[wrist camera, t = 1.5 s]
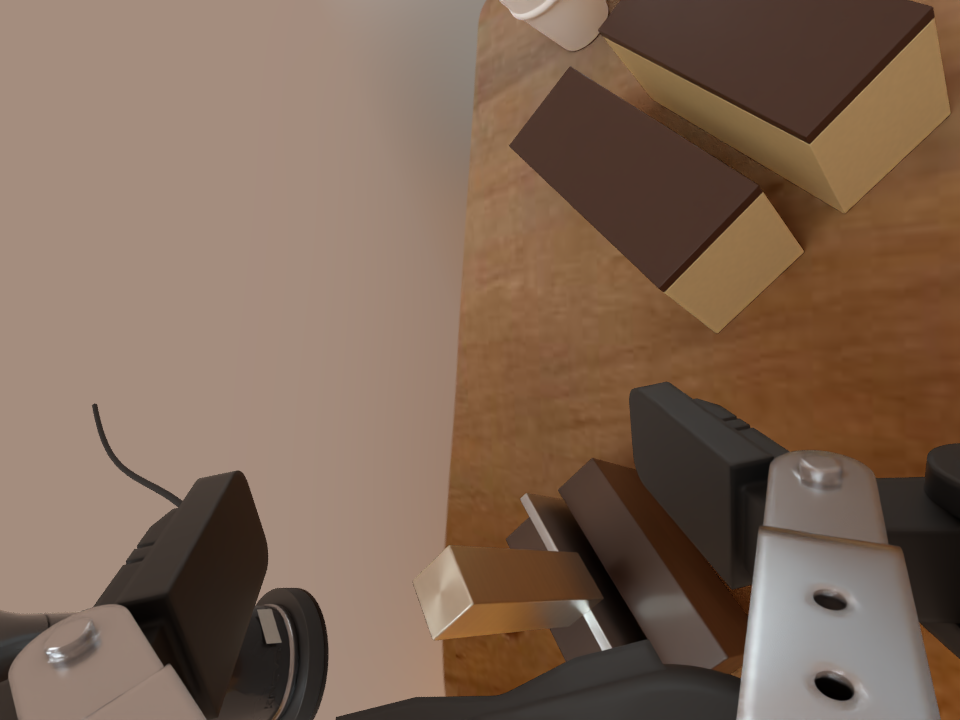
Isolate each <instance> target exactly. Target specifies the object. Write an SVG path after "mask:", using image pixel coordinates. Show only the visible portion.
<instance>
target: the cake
mask: <svg viewBox="0 0 960 720" xmlns="http://www.w3.org/2000/svg"><path fill="white" fill-rule="evenodd" d="M934 17H935V16H934V11H933V7H932V6H928V5H925V4H921V3H917V2H913V1H910V0H620V2H619V3H618V4H617V5H616V7H615V8H614V9H613V11H612V12H611V13H610V15H609V16H608V17H607V19H606V20H605V21H604V22H603V24H602V25H601V26H600V28H599V29H598V31H599V32H600V34H601V35H602V36H603V37H604V39H605V40H606V41H607V43H608V44H609V45H610V46H611V48H612V49H613V50H614V51H615V53H616V54H617V55H618V57H619V58H620V59H621V60H622V62H623V63H624V64H625V65H626V67H627V68H628V69H629V71H630V72H631V73H632V74H633V76H634V77H635V78H636V79H637V81H638V82H639V83H640V85H641V86H642V87H643V88H644V90H645V91H646V92H647V93H648V95H649V96H650V97H651V99H652V100H654V101H656V102H657V103H659V104H661V105H662V106H664V107H666V108H667V109H669V110H671V111H672V112H674V113H676V114H678V115H679V116H681V117H683V118H684V119H686V120H688V121H689V122H691V123H693V124H694V125H696V126H698V127H699V128H701V129H703V130H704V131H706V132H708V133H709V134H711V135H713V136H714V137H716V138H718V139H719V140H721V141H723V142H725V143H726V144H728V145H730V146H731V147H733V148H735V149H736V150H738V151H740V152H741V153H743V154H745V155H746V156H748V157H750V158H751V159H753V160H755V161H756V162H758V163H760V164H761V165H763V166H765V167H767V168H768V169H770V170H772V171H773V172H775V173H777V174H778V175H780V176H782V177H783V178H785V179H787V180H788V181H790V182H792V183H793V184H795V185H797V186H798V187H800V188H802V189H803V190H805V191H807V192H809V193H810V194H812V195H814V196H815V197H817V198H819V199H820V200H822V201H824V202H825V203H827V204H829V205H830V206H832V207H834V208H835V209H837V210H839V211H840V212H842V213H844V214H845V213H846V212H847V211H848V210H849V209H850V208H851V207H852V206H854V205H855V204H856V203H857V202H858V201H859V200H860V199H861V198H862V197H863V196H864V195H865V194H866V193H867V192H868V191H869V190H871V189H872V188H873V187H874V186H875V185H876V184H877V183H878V182H879V181H880V180H881V179H882V178H883V177H884V176H885V175H886V174H887V173H889V172H890V171H891V170H892V169H893V168H894V167H895V166H896V165H897V164H898V163H899V162H900V161H901V160H902V159H903V158H904V157H906V156H907V155H908V154H909V153H910V152H911V151H912V150H913V149H914V148H915V147H916V146H917V145H918V144H919V143H920V142H921V141H922V140H924V139H925V138H926V137H927V136H928V135H929V134H930V133H931V132H932V131H933V130H934V129H935V128H936V127H937V126H938V125H939V124H941V123H942V122H943V121H944V120H945V119H946V118H947V117H948V116H949V115H950V114H951V112H950V106H949V100H948V94H947V88H946V82H945V76H944V70H943V64H942V58H941V52H940V46H939V41H938V35H937V29H936V23H935V18H934ZM509 147H511V148H512V149H513V150H514V151H515V152H516V153H517V154H518V155H519V156H520V157H521V158H522V159H523V160H524V161H525V162H526V163H527V164H528V165H529V166H531V167H532V168H533V169H534V170H535V171H536V172H537V173H538V174H539V175H540V176H541V177H542V178H543V179H544V180H545V181H546V182H547V183H548V184H549V185H550V186H552V187H553V188H554V189H555V190H556V191H557V192H558V193H559V194H560V195H561V196H562V197H563V198H564V199H565V200H566V201H567V202H568V203H569V204H570V205H571V206H573V207H574V208H575V209H576V210H577V211H578V212H579V213H580V214H581V215H582V216H583V217H584V218H585V219H586V220H587V221H588V222H589V223H590V224H591V225H593V226H594V227H595V228H596V229H597V230H598V231H599V232H600V233H601V234H602V235H603V236H604V237H605V238H606V239H607V240H608V241H609V242H610V243H611V244H612V245H614V246H615V247H616V248H617V249H618V250H619V251H620V252H621V253H622V254H623V255H624V256H625V257H626V258H627V259H628V260H629V261H630V262H631V263H632V264H633V265H635V266H636V267H637V268H638V269H639V270H640V271H641V272H642V273H643V274H644V275H645V276H646V277H647V278H648V279H649V280H650V281H651V282H652V283H653V284H655V285H656V286H657V287H658V288H659V289H660V290H661V291H663V292H664V293H665V294H666V295H668V296H669V297H670V298H672V299H673V300H674V301H675V302H677V303H678V304H679V305H681V306H682V307H683V308H684V309H686V310H687V311H688V312H689V313H691V314H692V315H693V316H695V317H696V318H697V319H698V320H700V321H701V322H702V323H703V324H705V325H706V326H707V327H709V328H710V329H711V330H712V331H714V332H715V333H716V334H718V333H719V332H720V331H721V330H722V329H723V328H724V327H725V326H726V325H727V324H728V323H729V322H730V321H732V320H733V319H734V318H735V317H736V316H737V315H738V314H739V313H740V312H741V311H742V310H743V309H744V308H745V307H746V306H747V305H748V304H750V303H751V302H752V301H753V300H754V299H755V298H756V297H757V296H758V295H759V294H760V293H761V292H762V291H763V290H764V289H765V288H767V287H768V286H769V285H770V284H771V283H772V282H773V281H774V280H775V279H776V278H777V277H778V276H779V275H780V274H781V273H782V272H783V271H785V270H786V269H787V268H788V267H789V266H790V265H791V264H792V263H793V262H794V261H795V260H796V259H797V258H798V257H799V256H800V255H802V254H803V253H804V251H803V249H802V248H801V246H800V245H799V243H798V242H797V240H796V239H795V238H794V236H793V235H792V233H791V232H790V230H789V229H788V227H787V226H786V224H785V223H784V222H783V220H782V219H781V217H780V216H779V214H778V213H777V211H776V210H775V208H774V207H773V206H772V204H771V203H770V201H769V200H768V198H767V197H766V195H765V194H764V192H763V191H762V189H761V188H760V187H759V185H757V184H756V183H754V182H753V181H751V180H749V179H748V178H746V177H745V176H743V175H742V174H740V173H738V172H737V171H735V170H734V169H732V168H730V167H729V166H727V165H726V164H724V163H723V162H721V161H719V160H718V159H716V158H715V157H713V156H711V155H710V154H708V153H707V152H705V151H704V150H702V149H700V148H699V147H697V146H696V145H694V144H692V143H691V142H689V141H688V140H686V139H685V138H683V137H681V136H680V135H678V134H677V133H675V132H673V131H672V130H670V129H669V128H667V127H666V126H664V125H662V124H661V123H659V122H658V121H656V120H654V119H653V118H651V117H650V116H648V115H647V114H645V113H643V112H642V111H640V110H639V109H637V108H635V107H634V106H632V105H631V104H629V103H628V102H626V101H624V100H623V99H621V98H620V97H618V96H616V95H615V94H613V93H612V92H610V91H609V90H607V89H605V88H604V87H602V86H601V85H599V84H597V83H596V82H594V81H593V80H591V79H590V78H588V77H586V76H585V75H583V74H582V73H580V72H578V71H577V70H575V69H574V68H572V67H569V68H568V69H567V71H566V72H565V73H564V75H563V76H562V77H561V79H560V80H559V81H558V82H557V84H556V85H555V86H554V88H553V89H552V90H551V92H550V93H549V94H548V96H547V97H546V98H545V99H544V101H543V102H542V103H541V105H540V106H539V107H538V109H537V110H536V111H535V113H534V114H533V115H532V116H531V118H530V119H529V120H528V122H527V123H526V124H525V126H524V127H523V128H522V129H521V131H520V132H519V133H518V135H517V136H516V137H515V139H514V140H513V141H512V143H511V144H510V145H509Z"/></svg>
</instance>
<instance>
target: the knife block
mask: <svg viewBox="0 0 960 720" xmlns="http://www.w3.org/2000/svg"><path fill="white" fill-rule="evenodd" d="M558 491H559V493H560V494H561V496H562V498H563V499H564V501H565V503H566V504H567V506H568V508H569V509H570V511H571V513H572V514H573V516H574V518H575V519H576V521H577V523H578V524H579V526H580V528H581V529H582V531H583V533H584V534H585V536H586V538H587V539H588V541H589V543H590V544H591V546H592V548H593V549H594V551H595V553H596V554H597V556H598V558H599V559H600V561H601V563H602V564H603V566H604V568H605V569H606V571H607V573H608V574H609V576H610V578H611V579H612V581H613V583H614V584H615V586H616V588H617V589H618V591H619V593H620V594H621V596H622V598H623V599H624V601H625V602H626V604H627V606H628V607H629V609H630V611H631V612H632V614H633V616H634V617H635V619H636V621H637V622H638V624H639V626H640V627H641V629H642V631H643V632H644V634H645V636H646V637H647V639H649V640H650V642H651V644H652V646H653V647H654V649H655V651H656V653H657V654H658V656H659V658H660V660H661V661H662V663H663V664H680V665H691V666H697V667H702V668H707V669H712V670H716V671H719V672H723V673H726V674H731V673H732V672H734V671H735V670H737V669H738V668H740V667H741V666H743V659H744V650H745V642H746V633H747V625H748V616H747V615H746V614H745V612H744V611H743V610H742V608H741V607H740V606H739V604H738V603H737V601H736V600H735V599H734V597H733V596H732V595H731V593H730V592H729V591H728V589H727V588H726V587H725V585H724V584H723V583H722V581H721V580H720V578H719V577H718V576H717V574H716V573H715V572H714V570H713V569H712V568H711V566H710V565H709V564H708V562H707V561H706V560H705V558H704V557H703V556H702V554H701V553H700V551H699V550H698V549H697V548H696V547H695V545H694V544H693V543H692V542H691V541H690V539H689V538H688V537H687V536H686V535H685V534H684V532H683V531H682V530H681V529H680V528H679V526H678V525H677V524H676V523H675V522H674V520H673V519H672V518H671V517H670V516H669V515H668V513H667V512H666V511H665V510H664V509H663V507H662V506H661V505H660V504H659V503H658V502H657V500H656V499H655V498H654V497H653V496H652V494H651V493H650V492H649V491H648V490H647V489H646V487H645V486H644V485H643V483H642V482H641V480H640V478H639V476H638V473H637V470H634V469H631V468H627V467H623V466H620V465H616V464H613V463H609V462H605V461H602V460H598V459H594V458H592V459H590V460H589V461H588V462H587V463H586V464H585V465H584V466H583V467H582V468H581V469H580V470H579V471H578V472H577V473H576V474H574V475H573V476H572V477H571V478H570V479H569V480H568V481H567V482H566V483H565V484H564V485H563V486H562V487H561V488H560V489H559V490H558ZM506 541H507V543H508V545H509V547H510V549H525V550H542V551H548V550H547V548H546V546H545V544H544V543H543V541H542V539H541V537H540V535H539V533H538V531H537V530H536V528H535V526H534V524H533V522H532V520H531V518H530V517H529V518H528V519H527V520H526V521H525V522H523V523H522V524H521V525H520V526H519V527H518V528H517V529H516V530H515V531H514V532H513V533H512V534H511V535H510V536H509V537H507V538H506ZM550 630H551V632H552V634H553V636H554V638H555V640H556V642H557V644H558V646H559V648H560V650H561V652H562V654H563V656H564V659H565V661H566V662H567V661H569V660H571V659H573V658H575V657H579V656H583V655H587V654H591V653H595V652H599V651H602V650H601V648H600V646H599V644H598V643H597V641H596V639H595V637H594V635H593V633H592V631H591V630H590V628H589V626H588V624H587V622H586V620H585V618H584V617H583V616H581V617H580V618H579V619H578V620H576V621H575V622H574V623H573V624H571V625H570V626H568V627H558V628H550Z"/></svg>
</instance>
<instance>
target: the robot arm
mask: <svg viewBox="0 0 960 720" xmlns="http://www.w3.org/2000/svg"><path fill="white" fill-rule="evenodd" d="M629 405H630V418H631V431H632V445H633V457H634V463H635V467H636V470H637V473H638V476H639V478H640V480H641V482H642V483H643V485H644V486H645V487H646V489H647V490H648V491H649V492H650V493H651V494H652V496H653V497H654V498H655V499H656V500H657V502H658V503H659V504H660V505H661V506H662V507H663V509H664V510H665V511H666V512H667V513H668V515H669V516H670V517H671V518H672V519H673V520H674V522H675V523H676V524H677V525H678V526H679V528H680V529H681V530H682V531H683V532H684V534H685V535H686V536H687V537H688V538H689V539H690V541H691V542H692V543H693V544H694V545H695V547H696V548H697V549H698V550H699V551H700V552H701V554H702V555H703V556H704V557H705V558H706V560H707V561H708V562H709V563H710V564H711V565H712V567H713V568H714V569H715V570H716V571H717V573H718V574H719V575H720V576H721V577H722V578H723V580H724V581H725V582H726V583H727V584H728V586H729V587H730V588H731V589H736V588H741V587H745V586H749V585H752V590H751V599H750V607H749V616H748V625H747V633H746V642H745V650H744V659H743V667H742V676H741V679H740V678H738V677H735V676H733V675H730V674H726V673H723V672H719V671H716V670H712V669H707V668H702V667H697V666H691V665H680V664H663V663H662V661H661V660H660V658H659V656H658V654H657V653H656V651H655V649H654V647H653V646H652V644H651V642H650V640H649V639H647V640H643V641H639V642H635V643H631V644H627V645H623V646H619V647H615V648H611V649H607V650H603V651H599V652H595V653H591V654H587V655H583V656H579V657H575V658H573V659H571V660H569V661H567V662H565V663H563V664H561V665H559V666H557V667H556V668H554V669H552V670H550V671H548V672H546V673H544V674H542V675H540V676H538V677H536V678H534V679H532V680H530V681H528V682H526V683H525V684H523V685H521V686H519V687H517V688H515V689H513V690H511V691H509V692H507V693H504V694H501V695H497V696H461V697H415V698H411V699H407V700H403V701H399V702H395V703H391V704H387V705H383V706H379V707H375V708H371V709H367V710H363V711H359V712H355V713H351V714H347V715H343V716H339V717H336V720H941V719H940V714H939V710H938V705H937V701H936V696H935V692H934V687H933V683H932V678H931V674H930V670H929V665H928V661H927V656H926V652H925V647H924V643H923V638H922V634H921V629H920V625H919V622H920V623H921V624H922V625H923V626H924V627H925V628H926V629H927V630H928V631H929V632H930V633H931V634H932V635H934V636H935V637H936V638H937V639H938V640H939V641H940V642H941V643H943V644H944V645H945V646H946V647H947V648H948V649H949V650H950V651H951V652H953V653H954V654H955V655H956V656H957V657H958V658H959V659H960V443H957V444H948V445H943V446H939V447H937V448H934V449H933V450H931V451H930V452H929V453H928V456H927V463H926V472H925V477H909V478H876V477H875V475H874V473H873V472H872V471H871V469H869V468H868V467H867V466H866V465H864V464H863V463H861V462H859V461H857V460H855V459H853V458H850V457H847V456H844V455H841V454H837V453H832V452H826V451H816V450H802V451H793V452H789V451H788V450H786V449H785V448H783V447H782V446H780V445H779V444H777V443H776V442H774V441H773V440H771V439H770V438H768V437H767V436H765V435H764V434H762V433H761V432H759V431H758V430H756V429H755V428H750V425H749V424H747V423H746V422H744V421H743V420H741V419H737V418H736V416H735V415H733V414H732V413H730V412H729V411H727V410H726V409H724V408H723V407H721V406H720V405H716V404H713V403H710V402H707V401H703V400H700V399H692V398H691V397H689V396H688V395H686V394H685V393H683V392H682V391H681V390H679V389H678V388H676V387H675V386H673V385H672V384H671V383H669V382H663V383H658V384H653V385H649V386H644V387H639V388H634V389H632V390H631V392H630V396H629ZM92 407H93V413H94V417H95V422H96V425H97V429H98V433H99V436H100V439H101V441H102V444H103V446H104V448H105V450H106V452H107V454H108V456H109V457H110V458H111V460H112V461H113V462H114V464H115V465H116V466H117V467H118V468H119V469H120V470H121V471H122V472H124V473H125V474H126V475H127V476H129V477H130V478H132V479H134V480H135V481H137V482H139V483H140V484H142V485H144V486H146V487H147V488H149V489H151V490H153V491H155V492H156V493H158V494H160V495H162V496H163V497H165V498H166V499H168V500H170V501H171V502H172V503H173V504H175V505H176V506H177V507H178V508H176V509H172V510H171V511H170V512H169V513H167V514H166V515H165V516H164V517H162V518H161V519H160V520H159V521H157V522H156V523H155V524H154V525H152V526H151V527H150V528H149V530H148V531H147V532H146V534H145V535H144V537H143V538H142V539H141V541H140V542H139V544H138V545H137V549H134V551H133V552H132V553H131V555H130V556H129V558H128V559H127V560H126V565H123V566H122V567H121V569H120V570H119V572H118V573H117V574H116V576H115V577H114V579H113V580H112V581H111V583H110V584H109V586H108V587H107V588H106V590H105V591H104V592H103V594H102V595H101V597H100V598H99V599H98V601H97V602H96V604H95V605H94V607H92V608H89V609H86V610H83V611H81V612H64V613H44V614H43V613H33V614H20V613H12V612H7V611H2V610H0V720H281V719H282V717H283V716H284V715H285V713H286V711H287V709H288V707H289V705H290V703H291V700H292V698H293V695H294V691H295V688H296V684H297V678H298V672H299V659H300V651H299V639H298V633H297V628H296V625H295V622H294V619H293V617H292V615H291V614H290V612H289V611H288V609H287V608H286V607H284V606H283V605H281V604H264V605H261V606H255V604H256V601H257V598H258V595H259V592H260V589H261V586H262V583H263V580H264V577H265V574H266V570H267V566H268V548H267V542H266V538H265V534H264V531H263V528H262V525H261V522H260V519H259V516H258V513H257V510H256V507H255V503H254V500H253V498H252V494H251V491H250V488H249V486H248V482H247V480H246V478H245V476H244V474H243V473H242V472H241V471H233V472H229V473H224V474H218V475H214V476H209V477H204V478H199V479H198V480H197V481H196V482H195V484H194V485H193V487H192V488H191V490H190V491H189V493H188V494H187V496H186V497H185V499H184V500H183V501H182V500H181V499H179V498H178V497H176V496H175V495H173V494H172V493H170V492H168V491H167V490H165V489H163V488H161V487H160V486H158V485H156V484H154V483H152V482H150V481H148V480H146V479H144V478H142V477H140V476H139V475H137V474H135V473H134V472H132V471H131V470H129V469H128V468H127V467H125V466H124V465H123V464H122V463H121V462H120V461H119V460H118V458H117V457H116V456H115V454H114V453H113V451H112V449H111V448H110V446H109V444H108V441H107V439H106V437H105V434H104V431H103V428H102V424H101V420H100V416H99V412H98V407H97V404H93V405H92Z"/></svg>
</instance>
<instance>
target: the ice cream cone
mask: <svg viewBox="0 0 960 720" xmlns="http://www.w3.org/2000/svg"><path fill="white" fill-rule="evenodd" d="M499 1H500V2H501V3H502V4H503V5H505V6H506V7H507V8H508V9H510V12H511V13H512V15H513V16H514V17H515V18H517V19H519V20H524V21H525V22H527V23H528V24H529V25H531V26H532V27H534V28H535V29H537V30H538V31H540V32H541V33H543V34H544V35H546V36H547V37H548V38H550V39H551V40H553V41H554V42H556V43H557V44H559V45H560V46H562V47H563V48H565V49H566V50H569V51H576V50H579V49H582V48H584V47H585V46H587V45H588V44H589V43H591V42H592V41H593V40H594V39H595V38H596V37H597V35H598V34H599V33H600V32H599V31H598V29H599V28H600V26H601V25H602V24H603V22H604V21H605V20H606V19H607V17H608V6H607V3H606V1H605V0H499Z"/></svg>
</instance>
